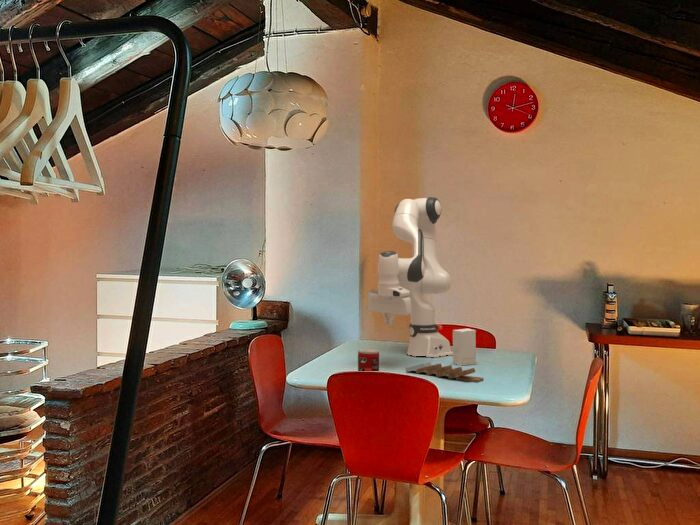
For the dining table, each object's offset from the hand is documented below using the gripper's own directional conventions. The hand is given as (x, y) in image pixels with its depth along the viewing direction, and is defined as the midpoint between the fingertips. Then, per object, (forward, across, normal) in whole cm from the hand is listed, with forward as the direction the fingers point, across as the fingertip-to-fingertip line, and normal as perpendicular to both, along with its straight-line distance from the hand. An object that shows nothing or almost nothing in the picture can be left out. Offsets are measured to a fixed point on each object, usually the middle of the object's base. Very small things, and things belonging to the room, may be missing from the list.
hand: (388, 323), depth 297 cm
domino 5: (+16, +33, -5) cm, 37 cm away
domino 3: (+16, +22, -4) cm, 28 cm away
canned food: (+17, +8, -26) cm, 32 cm away
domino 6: (+17, +35, -4) cm, 39 cm away
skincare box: (+19, +22, +24) cm, 38 cm away
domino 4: (+16, +28, -5) cm, 32 cm away
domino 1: (+17, +12, -4) cm, 21 cm away
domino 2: (+17, +17, -4) cm, 24 cm away
